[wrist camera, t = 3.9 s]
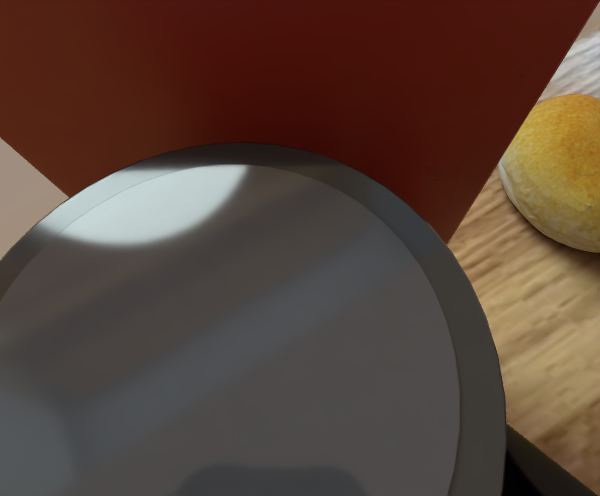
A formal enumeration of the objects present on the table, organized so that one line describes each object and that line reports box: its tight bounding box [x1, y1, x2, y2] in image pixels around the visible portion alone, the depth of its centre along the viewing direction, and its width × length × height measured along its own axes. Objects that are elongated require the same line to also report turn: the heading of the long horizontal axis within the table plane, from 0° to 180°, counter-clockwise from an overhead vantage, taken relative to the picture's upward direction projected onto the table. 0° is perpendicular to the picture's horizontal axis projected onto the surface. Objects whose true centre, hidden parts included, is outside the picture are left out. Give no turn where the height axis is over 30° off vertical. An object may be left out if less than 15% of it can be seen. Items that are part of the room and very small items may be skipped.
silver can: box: [0, 142, 507, 496], centre depth 10 cm, size 7×7×12 cm
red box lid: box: [0, 0, 600, 245], centre depth 10 cm, size 11×10×1 cm
